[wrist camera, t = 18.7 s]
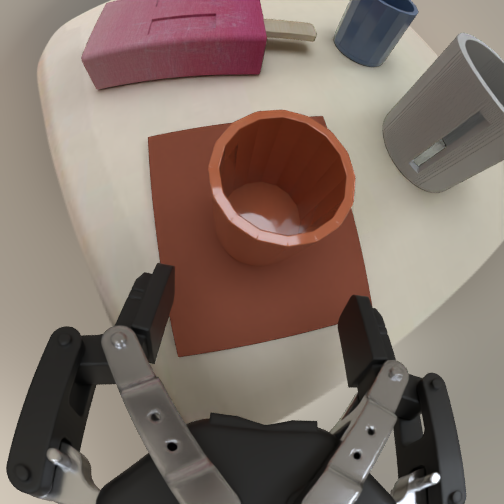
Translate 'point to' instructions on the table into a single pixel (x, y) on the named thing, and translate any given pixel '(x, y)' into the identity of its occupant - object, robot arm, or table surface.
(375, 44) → the blue tumbler
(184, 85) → the table surface
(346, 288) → the clay mat
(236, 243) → the terracotta tumbler
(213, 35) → the popsicle
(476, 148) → the cup
